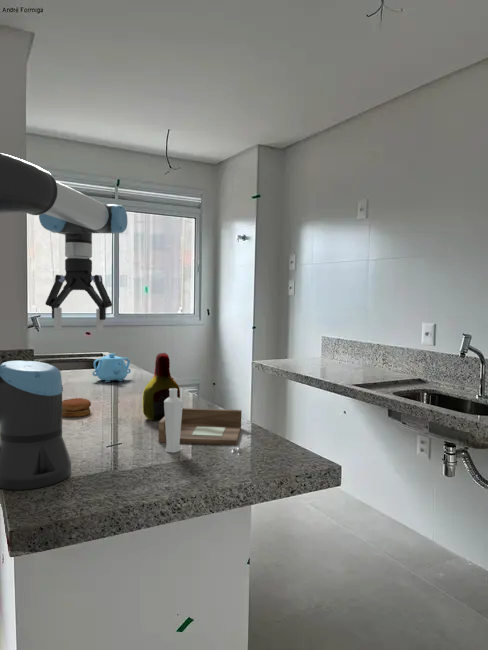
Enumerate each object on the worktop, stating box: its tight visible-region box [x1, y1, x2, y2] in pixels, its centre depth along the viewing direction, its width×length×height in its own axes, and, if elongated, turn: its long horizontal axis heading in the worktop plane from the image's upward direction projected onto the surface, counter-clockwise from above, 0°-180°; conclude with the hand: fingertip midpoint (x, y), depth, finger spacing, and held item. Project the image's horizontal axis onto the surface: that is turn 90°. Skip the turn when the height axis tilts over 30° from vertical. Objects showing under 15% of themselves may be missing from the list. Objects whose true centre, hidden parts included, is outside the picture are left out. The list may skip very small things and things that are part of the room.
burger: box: [62, 397, 92, 418], centre depth 154 cm, size 10×9×5 cm
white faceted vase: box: [164, 388, 184, 453], centre depth 119 cm, size 5×4×15 cm
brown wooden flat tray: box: [158, 407, 242, 446], centre depth 133 cm, size 16×20×5 cm
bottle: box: [141, 352, 181, 421], centre depth 150 cm, size 12×6×20 cm, turn 119°
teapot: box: [92, 353, 131, 383], centre depth 212 cm, size 20×17×12 cm
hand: (78, 330), depth 146 cm, fingers open, 13 cm apart
